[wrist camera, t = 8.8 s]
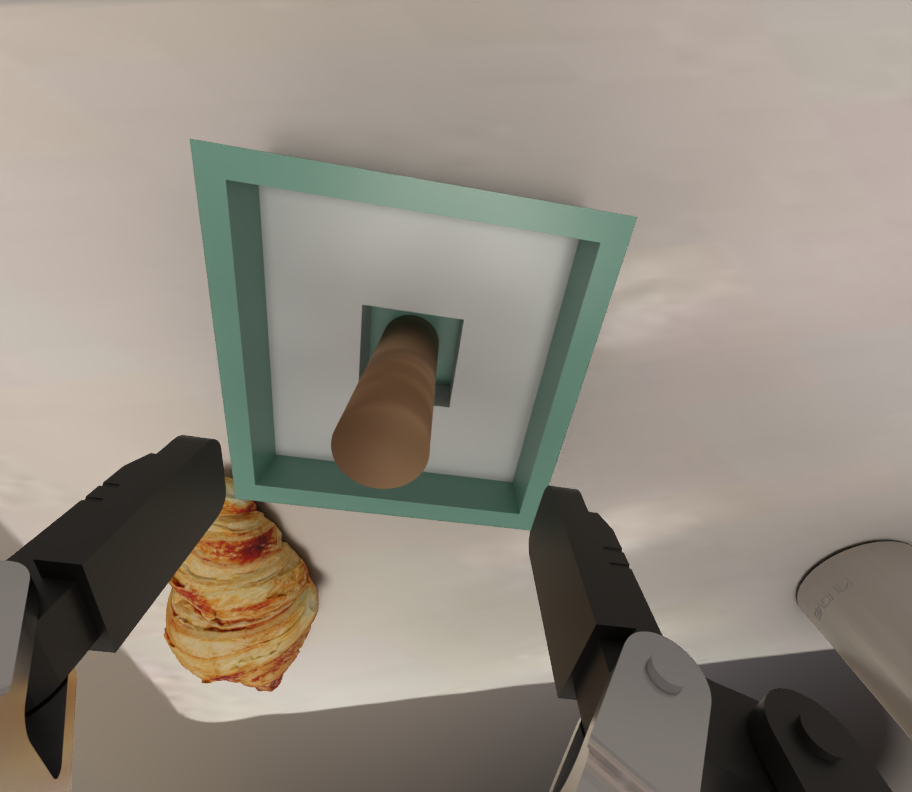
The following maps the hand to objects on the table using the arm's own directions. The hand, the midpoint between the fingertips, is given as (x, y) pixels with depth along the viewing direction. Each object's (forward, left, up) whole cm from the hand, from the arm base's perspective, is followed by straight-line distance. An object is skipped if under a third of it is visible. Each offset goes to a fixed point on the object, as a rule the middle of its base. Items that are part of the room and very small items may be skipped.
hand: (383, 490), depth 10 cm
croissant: (+10, +21, -14) cm, 27 cm away
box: (0, 0, -13) cm, 13 cm away
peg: (0, 0, -12) cm, 12 cm away
